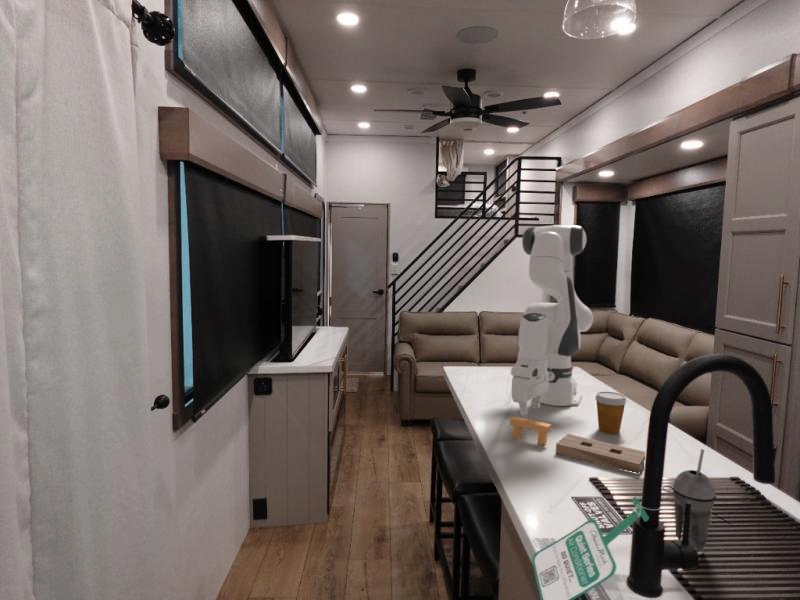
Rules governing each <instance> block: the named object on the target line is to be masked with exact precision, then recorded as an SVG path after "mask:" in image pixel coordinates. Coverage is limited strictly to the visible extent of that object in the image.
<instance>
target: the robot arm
mask: <svg viewBox="0 0 800 600" xmlns="http://www.w3.org/2000/svg"><path fill="white" fill-rule="evenodd" d="M586 244H587V234H586V231H585V229H584V228H583V226H581V225H576V224H572V225H568V224H567V225H566V224H553V225H543V226H538V227H537V226H530V227H528V228H526V229H525V231H524V232H523V235H522V238H521V246H522V249H523V251H524V252H525V254H527V255H529V256H530V257H529V265H528V276H529V278H530V281H532V283H533V284H534V285H535V286H536V287H537V288H539V289H541V290H543V291H544V292H545V293H546V294H548V295H549V296H551V297H553V298H554V299H555V300H556V301H557V303H556V302H543V301H542V302H533V303H529V305H528V306H527V307H526V309H525V311H524V314H523V315H522V317H521V319H520V323H519V324H520V325H519V328H518V331H517V344H518V346H519V347H518V348H519V350H518V353H517V360H516V362H515V363H514V365H513V366H512V367H511V369H510V375H511V376H512V377H511V378H512V379H511V399H512V401H513V402H515V403H518V406H519V411H520V415H521V416H527V415H528V414H529V413H528V412H529V408H528V407H527V405H528V402H529V401H531V400H533V399H534V400H533V402H532V408H534V409H539V408H540V407H541V404H544V405H548V406H556V407H557V406H558V407H564V406H565V407H566V406H579V405H580V403H581V401H582V398H583V394H582V393H579V392H577V391H578V390H577V388H578V387H577V386H578V385H577V382H576V380H575V379H574V378H573V370H574V365H572V362H571V361H572V356H573V355H575V354H577V353H578V352H579V351H580V348H581V346H582V335H581V333H582V332H583V333H584V332H587V331H588V330H589V329H590V328H591V327H592V325H593V322H594V316H593V312H592V310H591V309H590V308H589V307H588V306H587V305H585V303H583V302H582V301H581V300H580V298H579V297H578V294H577V293H576V290H575V287H574V285H575V284H574V266H573V265H574V263H573V262H574V261H573V257H575V256H576V255H577V256H578V255H580V254H581V253H582V252H584V250H585V247H586Z"/></svg>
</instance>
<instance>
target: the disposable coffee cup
mask: <svg viewBox="0 0 800 600" xmlns="http://www.w3.org/2000/svg"><path fill="white" fill-rule="evenodd" d="M594 398H595V400H596V408H597V410H596V411H597V423H598V430H599V431H600V432H602V433H604V434H610V435H617V434H620V432H621V428H622V420H623V415H624V411H625V405H626V403H627V401H628V400H627V399H626V396H625V395H624V394H622V393H619V392H615V391H614V392H613V391H598V392H597V393H596V395H595V397H594Z"/></svg>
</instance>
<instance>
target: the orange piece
mask: <svg viewBox="0 0 800 600" xmlns="http://www.w3.org/2000/svg"><path fill="white" fill-rule="evenodd" d="M509 425H510V426H513V434H512V437H513V438H514V439H522V438H523V437H522V436H523V429H527V430H531V431H534V432H537V444H538V443H539V445H542V444H545V443H546V444H547V439H548V434H549V433H550V432H551V431H552V424H551V423H547V422H542V421H537V420H533V419H529V418H525V417H519V416H515V415H514V416H512V417H510V421H509ZM546 444H545V445H546Z"/></svg>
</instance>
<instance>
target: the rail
mask: <svg viewBox="0 0 800 600" xmlns="http://www.w3.org/2000/svg"><path fill="white" fill-rule="evenodd" d="M645 452H646V451H644V450H640V449H635V448H631V447H626V446H622V445H617V444H614V443H611V442H610V443H609V442H604V441H600V440H596V439H592V438H587V437H583V436H579V435H575V434H570V433H567V434H566V435H564V436H563V437H562V438H561V439H560V440H558V442H556V443H555V454H556V453H558V454H557V455H560V454H562V455H561V456H563V455H565V456H564V457H567V456H569V457H568V458H571V457H572V458H571V459H575V460H579V461H582V460H583V462H586V461H587V463H590V462H591V464H594V463H595V465H598V464H599V465H598V466H602V465H604V466H603V467H605V466H607V467H606V468H609V467H611V468H610V469H613V468H616V469H615V470H617V469H622V470H627V471H632V472H636V473H639V472H640V470H642V471H643V469H644V468H643V467H645V466H644V460H645ZM640 473H641V472H640Z"/></svg>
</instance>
